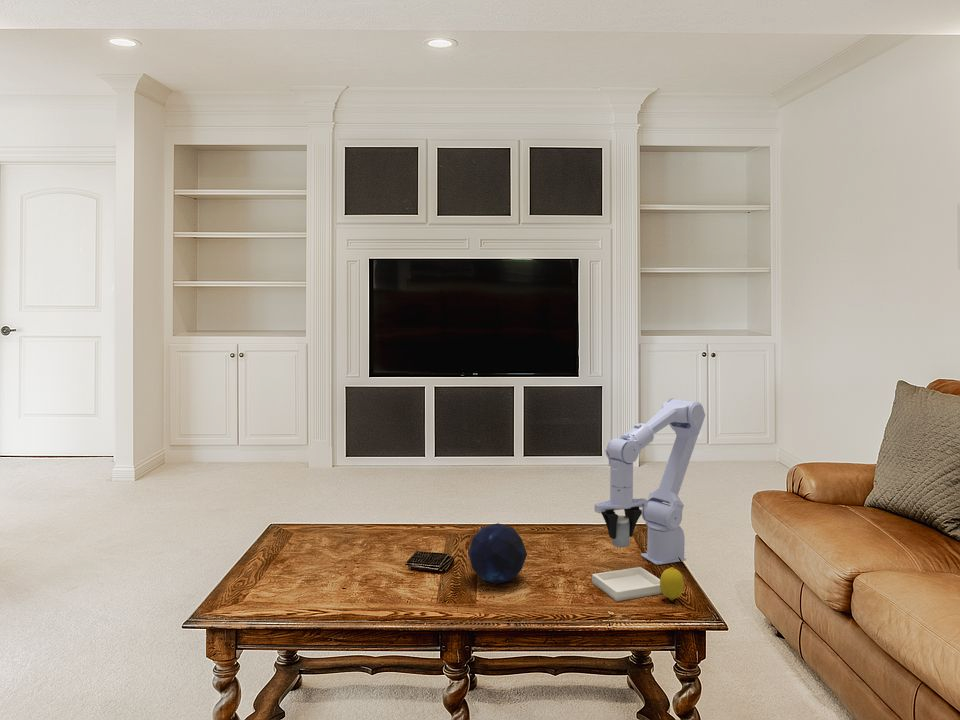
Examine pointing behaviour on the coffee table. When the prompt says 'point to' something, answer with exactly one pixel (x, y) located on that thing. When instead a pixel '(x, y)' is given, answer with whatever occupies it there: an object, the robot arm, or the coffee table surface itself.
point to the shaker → (622, 532)
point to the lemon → (671, 583)
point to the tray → (627, 583)
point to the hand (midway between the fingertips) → (620, 536)
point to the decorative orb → (497, 553)
